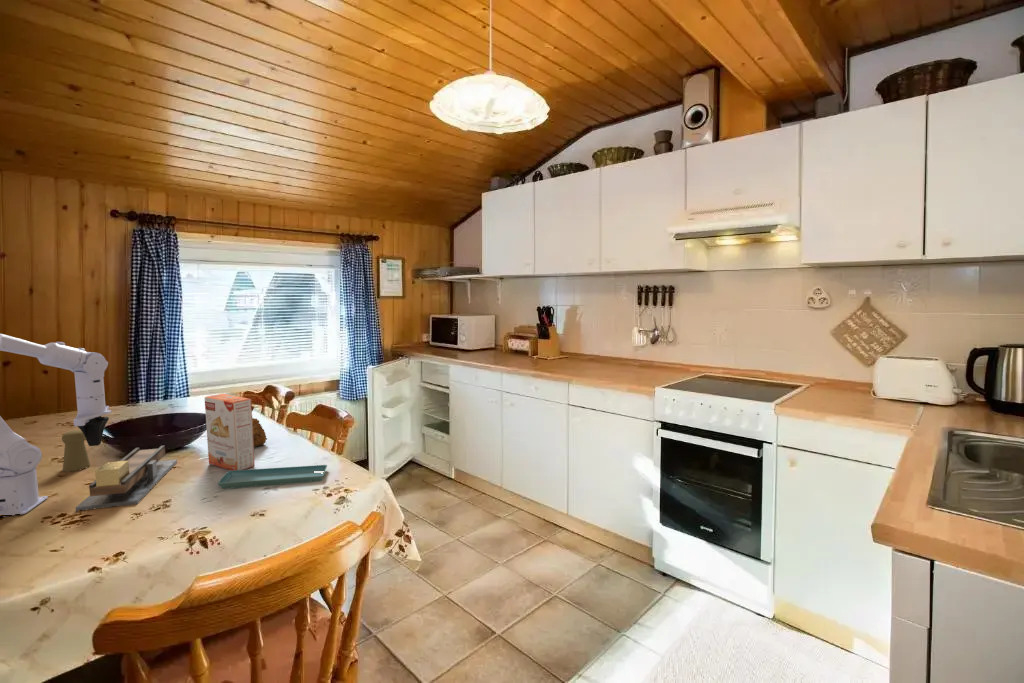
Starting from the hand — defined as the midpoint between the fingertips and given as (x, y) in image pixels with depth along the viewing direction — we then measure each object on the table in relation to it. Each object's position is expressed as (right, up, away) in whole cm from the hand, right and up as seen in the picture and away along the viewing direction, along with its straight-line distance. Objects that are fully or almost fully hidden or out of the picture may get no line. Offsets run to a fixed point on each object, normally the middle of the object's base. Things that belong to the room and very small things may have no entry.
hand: (94, 445), depth 129 cm
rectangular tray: (+48, -11, +3) cm, 49 cm away
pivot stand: (+11, -10, -1) cm, 15 cm away
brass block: (+15, -6, -12) cm, 20 cm away
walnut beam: (+11, -6, -2) cm, 13 cm away
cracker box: (+30, -9, +13) cm, 33 cm away
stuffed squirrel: (+25, -7, +32) cm, 41 cm away
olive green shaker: (-14, -9, +10) cm, 19 cm away
